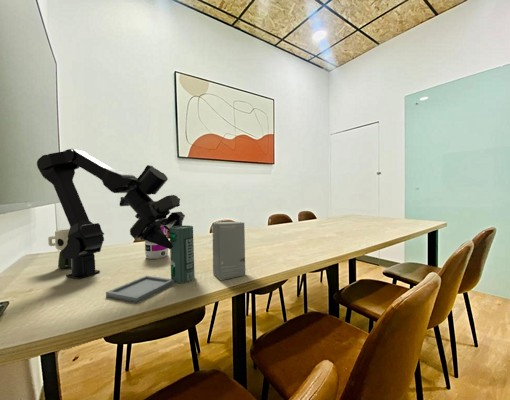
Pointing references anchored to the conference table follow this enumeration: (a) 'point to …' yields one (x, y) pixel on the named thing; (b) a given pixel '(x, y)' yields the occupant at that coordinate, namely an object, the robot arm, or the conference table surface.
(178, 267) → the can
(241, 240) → the skincare box
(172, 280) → the tray
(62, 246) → the character mug
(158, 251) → the supplement can
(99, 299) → the conference table surface
